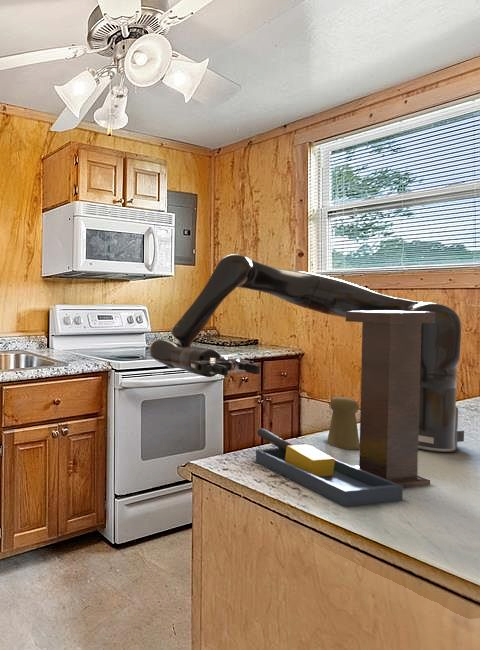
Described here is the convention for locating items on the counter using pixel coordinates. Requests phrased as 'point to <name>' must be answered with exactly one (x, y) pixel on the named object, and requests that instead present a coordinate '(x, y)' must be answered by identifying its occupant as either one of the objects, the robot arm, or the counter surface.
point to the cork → (344, 424)
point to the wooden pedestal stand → (390, 393)
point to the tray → (335, 480)
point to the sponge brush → (302, 455)
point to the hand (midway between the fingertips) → (242, 370)
